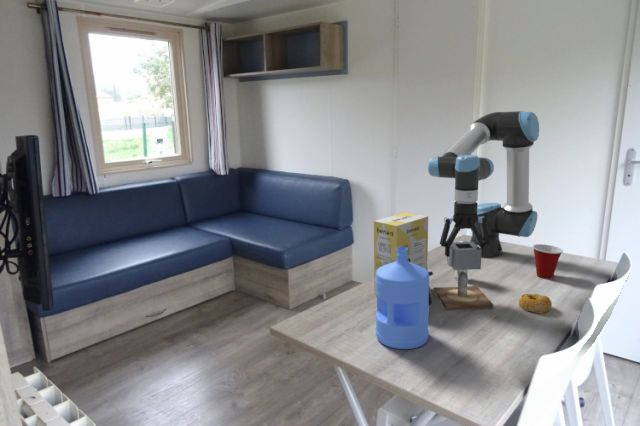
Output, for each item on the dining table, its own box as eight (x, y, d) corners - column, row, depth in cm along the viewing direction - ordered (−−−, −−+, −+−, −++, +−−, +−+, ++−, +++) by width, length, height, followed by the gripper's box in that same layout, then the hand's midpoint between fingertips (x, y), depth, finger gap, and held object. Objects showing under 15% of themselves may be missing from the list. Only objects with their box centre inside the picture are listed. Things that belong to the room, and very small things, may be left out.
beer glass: (469, 275, 180) (470, 240, 177) (473, 282, 173) (475, 245, 170) (451, 275, 181) (452, 240, 177) (455, 282, 174) (456, 245, 171)
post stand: (434, 291, 166) (434, 265, 164) (476, 289, 166) (478, 263, 164) (445, 310, 151) (446, 281, 148) (493, 308, 151) (494, 280, 148)
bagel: (547, 301, 155) (547, 288, 153) (554, 316, 144) (555, 302, 143) (516, 299, 157) (516, 287, 156) (521, 314, 147) (521, 300, 146)
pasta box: (404, 280, 178) (405, 212, 172) (426, 287, 170) (428, 216, 164) (374, 293, 166) (373, 221, 160) (396, 301, 159) (396, 226, 152)
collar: (446, 261, 160) (447, 242, 158) (471, 260, 160) (472, 241, 158) (454, 270, 151) (454, 250, 150) (480, 269, 151) (481, 249, 150)
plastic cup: (566, 280, 171) (569, 251, 169) (537, 281, 172) (540, 252, 169) (552, 270, 182) (555, 242, 179) (525, 271, 182) (527, 243, 179)
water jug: (392, 320, 145) (392, 237, 139) (437, 334, 135) (439, 246, 129) (365, 340, 133) (364, 251, 127) (412, 356, 124) (414, 261, 117)
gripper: (436, 205, 147) (435, 269, 152) (502, 202, 147) (498, 267, 152) (431, 200, 154) (429, 262, 159) (493, 198, 154) (490, 259, 159)
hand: (463, 264), depth 155 cm, fingers closed on collar, 9 cm apart
